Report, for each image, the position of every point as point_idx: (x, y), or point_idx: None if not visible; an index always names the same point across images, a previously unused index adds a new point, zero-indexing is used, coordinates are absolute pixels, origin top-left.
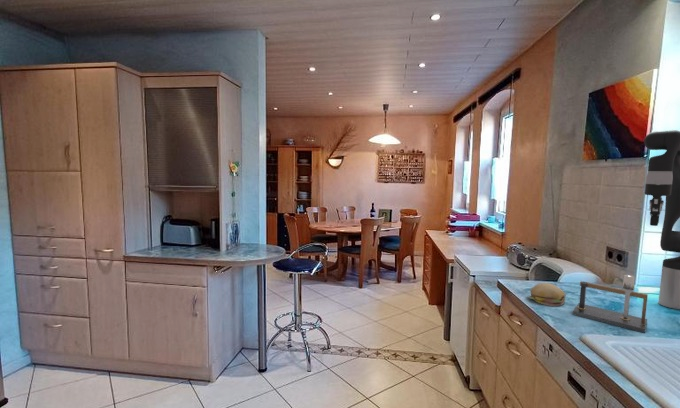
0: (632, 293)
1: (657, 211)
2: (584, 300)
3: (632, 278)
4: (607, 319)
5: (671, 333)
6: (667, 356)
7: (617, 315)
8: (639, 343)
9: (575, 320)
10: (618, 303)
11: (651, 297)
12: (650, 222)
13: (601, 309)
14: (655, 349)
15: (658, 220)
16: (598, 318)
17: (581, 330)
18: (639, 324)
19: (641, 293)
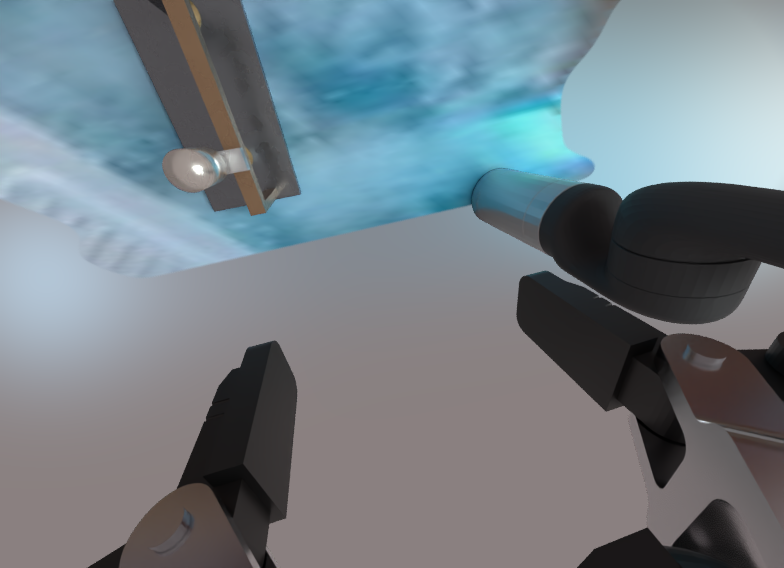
0: (234, 174)
1: (678, 433)
2: (166, 12)
3: (177, 186)
4: (172, 123)
5: (283, 242)
6: (125, 272)
7: (246, 133)
8: (129, 221)
9: (72, 35)
10: (404, 92)
11: (535, 144)
12: (242, 371)
13: (251, 78)
14: (136, 250)
15: (540, 345)
16: (161, 96)
17: (7, 86)
18: (235, 193)
19: (254, 197)
